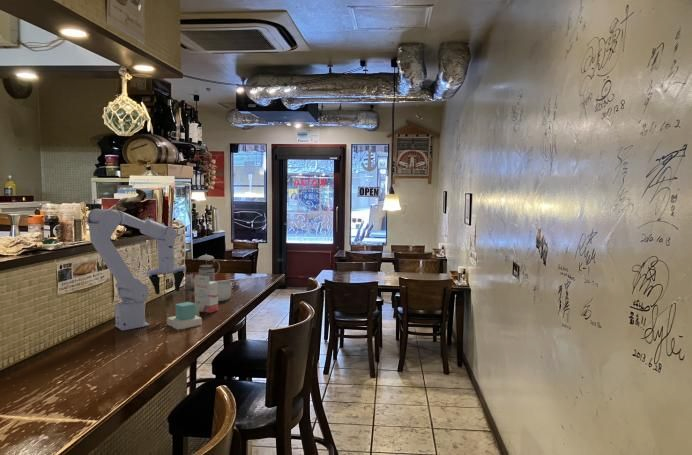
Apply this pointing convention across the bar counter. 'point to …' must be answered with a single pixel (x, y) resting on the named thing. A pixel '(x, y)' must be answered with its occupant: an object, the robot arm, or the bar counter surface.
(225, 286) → the ramekin
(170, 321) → the cream slab
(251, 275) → the bar counter surface
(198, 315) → the sage block
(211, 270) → the french press
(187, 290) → the bar counter surface
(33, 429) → the bar counter surface
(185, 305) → the teal cube
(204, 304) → the ink cartridge box
